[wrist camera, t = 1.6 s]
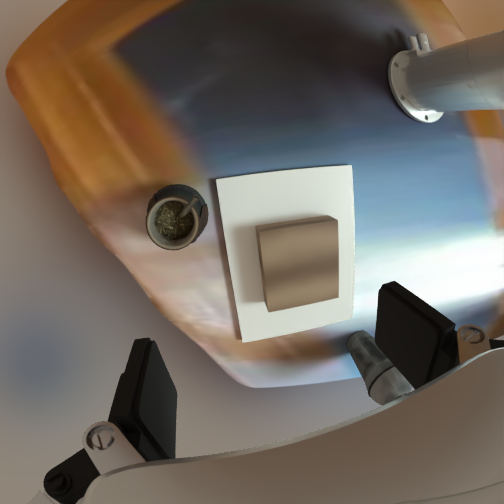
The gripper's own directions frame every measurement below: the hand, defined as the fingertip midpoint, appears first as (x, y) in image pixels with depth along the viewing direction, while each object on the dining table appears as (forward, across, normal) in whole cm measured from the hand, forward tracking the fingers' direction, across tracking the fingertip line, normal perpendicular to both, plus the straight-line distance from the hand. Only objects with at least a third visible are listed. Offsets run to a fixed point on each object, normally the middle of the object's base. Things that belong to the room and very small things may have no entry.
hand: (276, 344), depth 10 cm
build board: (+26, -8, +7) cm, 28 cm away
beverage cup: (+26, -19, +25) cm, 41 cm away
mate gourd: (+27, +5, -2) cm, 27 cm away
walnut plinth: (+25, -8, +7) cm, 28 cm away
